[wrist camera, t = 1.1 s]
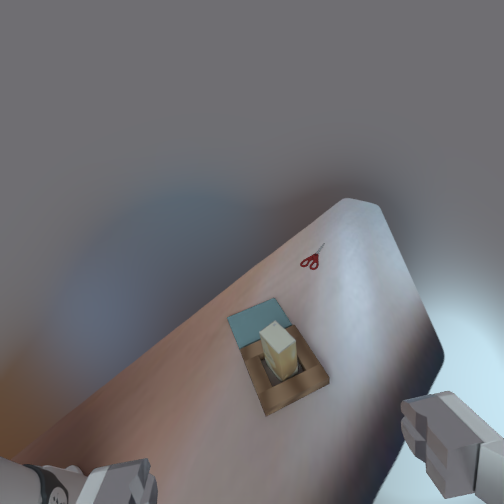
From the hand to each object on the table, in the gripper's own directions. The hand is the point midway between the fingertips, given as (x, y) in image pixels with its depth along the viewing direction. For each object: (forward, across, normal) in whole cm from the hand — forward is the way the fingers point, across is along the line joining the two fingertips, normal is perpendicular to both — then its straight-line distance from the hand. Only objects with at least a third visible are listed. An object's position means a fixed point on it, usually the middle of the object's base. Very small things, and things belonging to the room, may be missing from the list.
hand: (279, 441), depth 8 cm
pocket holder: (+40, +4, -32) cm, 51 cm away
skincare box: (+40, +4, -32) cm, 51 cm away
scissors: (+72, +24, -19) cm, 78 cm away
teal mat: (+52, +2, -27) cm, 59 cm away
